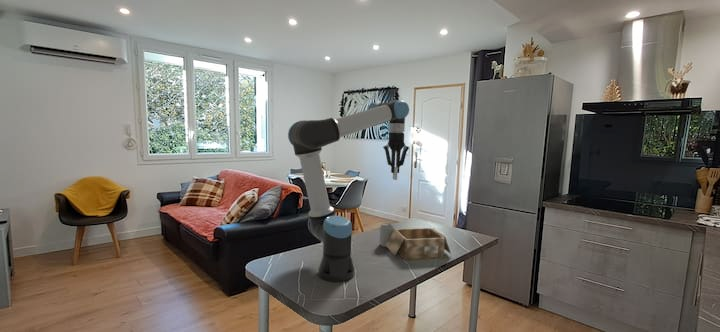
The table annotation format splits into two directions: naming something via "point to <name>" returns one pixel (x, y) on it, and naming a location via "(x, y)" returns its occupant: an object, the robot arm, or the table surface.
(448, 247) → the flap right
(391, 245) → the flap left
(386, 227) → the can
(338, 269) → the robot arm
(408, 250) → the carton
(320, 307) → the table surface
